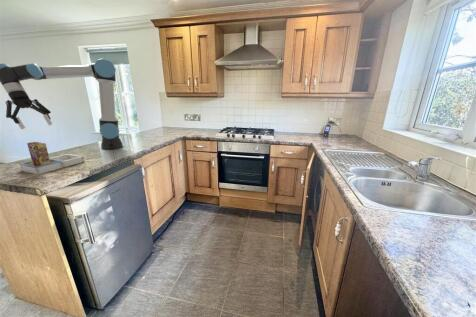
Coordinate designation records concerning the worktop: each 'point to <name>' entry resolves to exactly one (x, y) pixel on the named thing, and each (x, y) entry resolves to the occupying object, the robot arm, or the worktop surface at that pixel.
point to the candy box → (38, 153)
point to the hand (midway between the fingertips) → (37, 126)
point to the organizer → (52, 164)
